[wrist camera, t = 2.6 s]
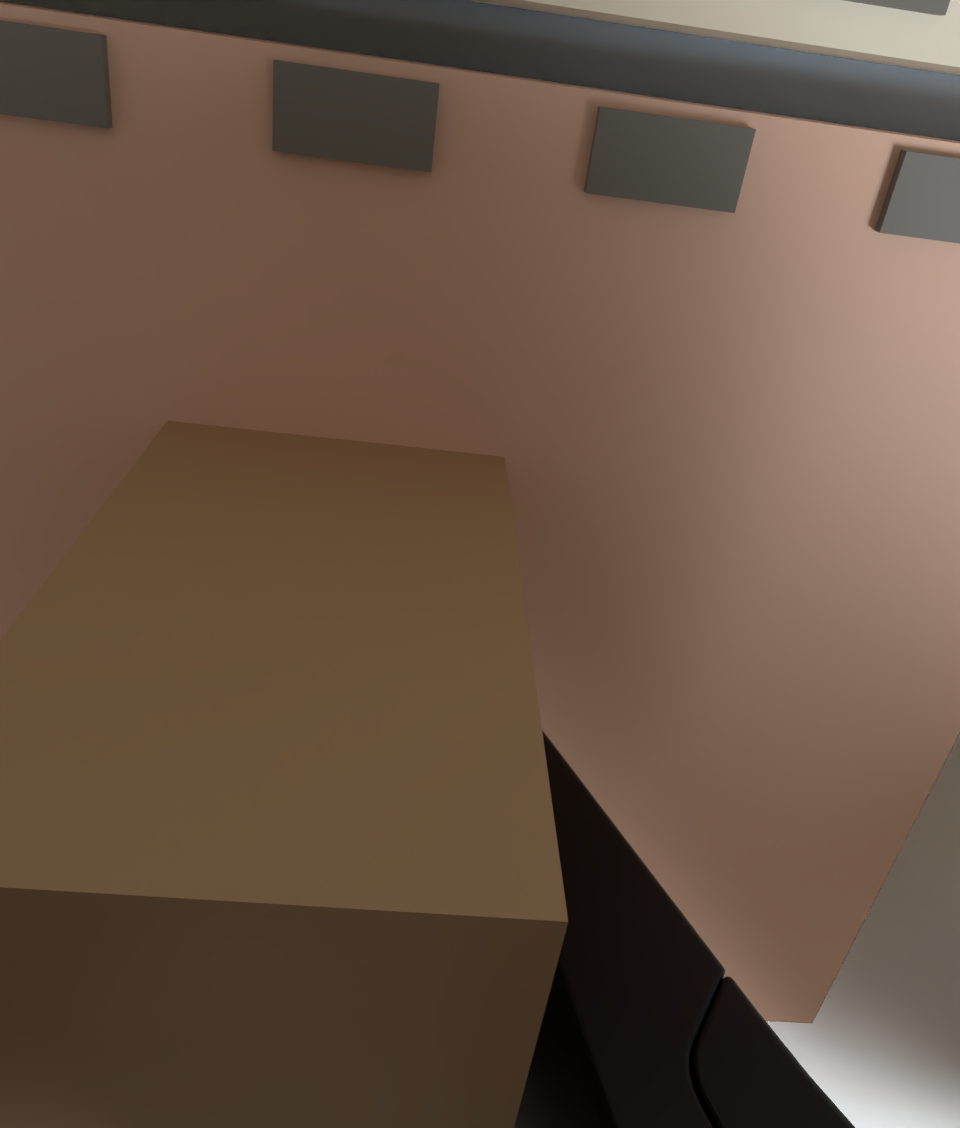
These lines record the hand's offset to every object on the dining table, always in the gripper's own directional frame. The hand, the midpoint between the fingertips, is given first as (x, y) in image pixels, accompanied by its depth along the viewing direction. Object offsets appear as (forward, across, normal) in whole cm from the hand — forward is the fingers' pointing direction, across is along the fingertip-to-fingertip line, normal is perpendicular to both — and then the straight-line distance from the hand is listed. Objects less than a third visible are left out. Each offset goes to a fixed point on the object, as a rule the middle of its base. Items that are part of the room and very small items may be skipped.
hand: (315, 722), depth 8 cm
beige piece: (+2, 0, 0) cm, 2 cm away
